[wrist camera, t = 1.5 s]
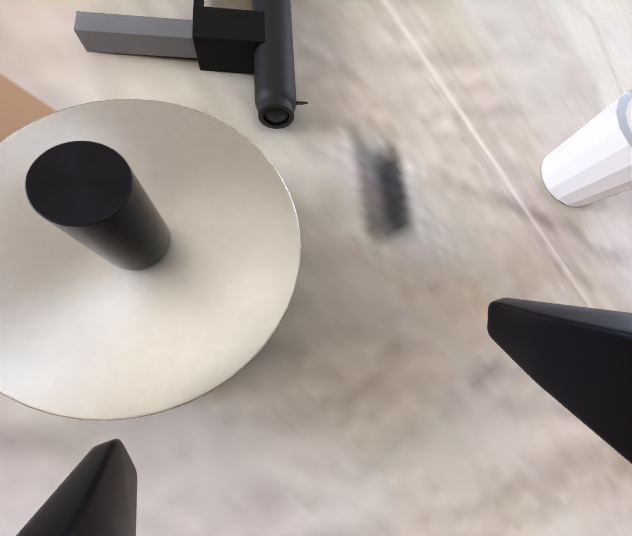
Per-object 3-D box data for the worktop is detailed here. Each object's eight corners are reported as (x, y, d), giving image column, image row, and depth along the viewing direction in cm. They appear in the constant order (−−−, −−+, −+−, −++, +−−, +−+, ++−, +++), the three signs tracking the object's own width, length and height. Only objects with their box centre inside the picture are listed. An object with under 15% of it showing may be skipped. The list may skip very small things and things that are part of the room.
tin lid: (271, 433, 14) (286, 486, 9) (-115, 392, 12) (-449, 426, 6) (315, 152, 19) (346, 58, 13) (32, 84, 16) (-89, -68, 11)
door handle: (54, 92, 20) (314, 104, 22) (90, -125, 25) (299, -97, 27) (84, 128, 23) (309, 135, 26) (110, -71, 28) (296, -50, 31)
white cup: (569, 136, 31) (655, 76, 25) (613, 196, 30) (714, 151, 24) (521, 160, 29) (600, 103, 23) (566, 225, 28) (663, 185, 22)
